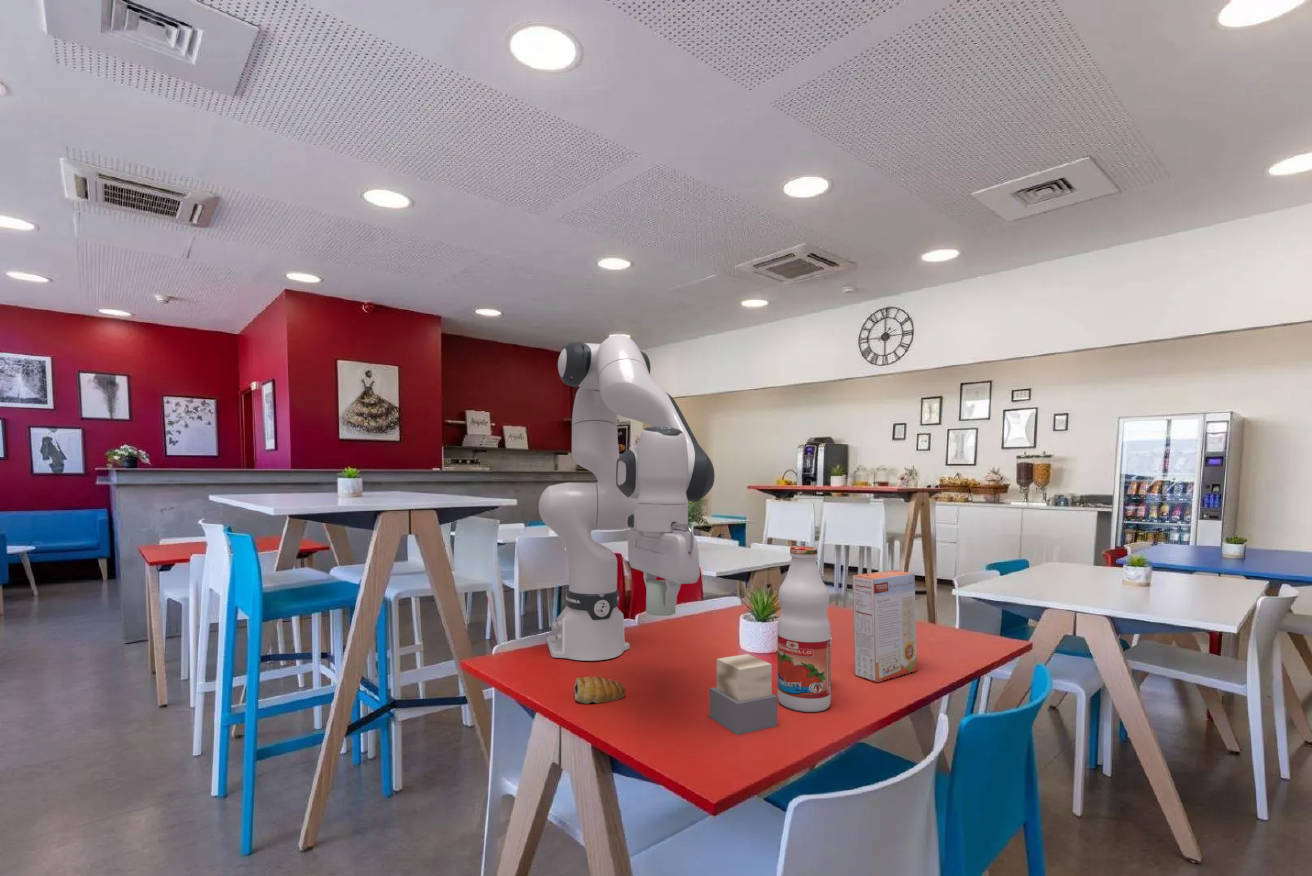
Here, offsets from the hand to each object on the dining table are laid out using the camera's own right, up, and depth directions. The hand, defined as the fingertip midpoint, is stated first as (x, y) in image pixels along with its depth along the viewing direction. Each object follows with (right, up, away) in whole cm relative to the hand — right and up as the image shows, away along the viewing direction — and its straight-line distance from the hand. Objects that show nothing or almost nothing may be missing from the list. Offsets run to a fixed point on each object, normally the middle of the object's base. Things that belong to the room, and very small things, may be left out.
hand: (661, 602), depth 101 cm
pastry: (-12, -20, +8) cm, 25 cm away
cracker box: (+47, -22, +24) cm, 58 cm away
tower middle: (+14, -15, -1) cm, 20 cm away
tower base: (+14, -20, -2) cm, 24 cm away
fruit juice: (+26, -20, +7) cm, 34 cm away
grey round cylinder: (0, -2, 0) cm, 2 cm away
